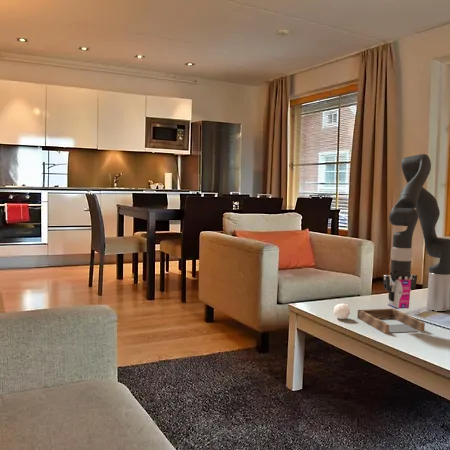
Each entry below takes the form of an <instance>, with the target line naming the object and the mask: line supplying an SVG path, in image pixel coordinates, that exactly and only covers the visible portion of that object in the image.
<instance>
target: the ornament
mask: <svg viewBox="0 0 450 450" xmlns="http://www.w3.org/2000/svg"><path fill="white" fill-rule="evenodd" d="M350 311H351V309H350V308H349V304H347V303H346V304H345V303H338V304H336V305H335V306H334V308H333V314H334V316H335V317H336V318H337V319H339V320H346V319H348V318H349V316H350V314H351V312H350Z"/></svg>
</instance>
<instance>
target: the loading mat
mask: <svg viewBox="0 0 450 450" xmlns="http://www.w3.org/2000/svg"><path fill="white" fill-rule="evenodd" d="M417 332H419V331H418V330H416V329H414V328H412V327H410V326H408V325H406V324H404V323H400V324H398V323H397V324H389V334H399V333H400V334H401V333H417Z"/></svg>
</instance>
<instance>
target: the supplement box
mask: <svg viewBox="0 0 450 450" xmlns="http://www.w3.org/2000/svg"><path fill="white" fill-rule="evenodd" d="M391 281H392V279H391V278H390V282H391ZM396 281H397V283H396V287H395V290H394V301H390V300H389V299H388V302H387V303H388V304H387V306H389V307H391V308H392V309H396V310H399V309H400V310H401V309H409V308H410V298H411V291H410V288H411V280H410V279H409V280H404V279H401V280H396ZM396 281H395V282H396ZM395 282H394V281H392V284H395ZM392 287H393V286H392Z"/></svg>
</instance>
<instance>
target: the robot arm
mask: <svg viewBox="0 0 450 450" xmlns="http://www.w3.org/2000/svg"><path fill="white" fill-rule="evenodd" d="M431 169H432V161H431V159H430V156H429V155H428V154H425V153H422V154H416V155H410V156H405V157H403V158H402V159H401V170H402V173H403V176H404V179H405V182H406V184H405V185H404V186H403V188H402V189H401V191H400V194H399V196H398V200H397V201H396V203H395V204H394V205H393V207H392V208H391V210H390V212H389V214H388V221H389V223H390V224H391V225H393V226H399V227H400V226H401V227H406V229H405V230H403V231H397V232H394V233H393V236H392V249H391V253H390V273H389V274H383V275H382V278H383V279H382V281H383V289H384V290H386V291H387V292H388V301H389V300H390V301H394V290H395V287H396V283H397V281H396V280H401V279H404V280H411V288H410V292H411V291H414V290H416V286H417V281H418V275H417V274H415V273H414V274H413V273H411V271H412V258H413V256H412V255H413V253H412V252H413V251H412V246H413V236H414V235H413V234H414V231H415V229H416V226H417V223H418V221H419V223H420V226H421V231H422V234H423V240H424V246H425V250H426V253H427V254H428V256H429V257H432V258H437V259H439V262H438V263H436V264H432V265H430V266H429V267H428V278H427V279H428V283H427V295H426V296H427V298H426V299H427V300H426V309H427V310H428V311H432V310H434V311H433V312H437V311H447V310H450V238H442V237H438V235H437V232H436V226H437V223H438V221H439V220H440V219H439V218H440V216H441V215H440V214H441V212H440V208H439V204H438V201H437V198H436V197H435V196H434V195H433V194H432V193H431V192H429V190H427V189H426V188H424V185H425V183H426V181H427V179H428V177H429V176H430V173H431ZM390 278H391V279H392V281H394V282H395V281H396V282H395V284H392V281H391V282H390ZM392 286H393V287H392ZM447 312H448V311H447Z"/></svg>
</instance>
